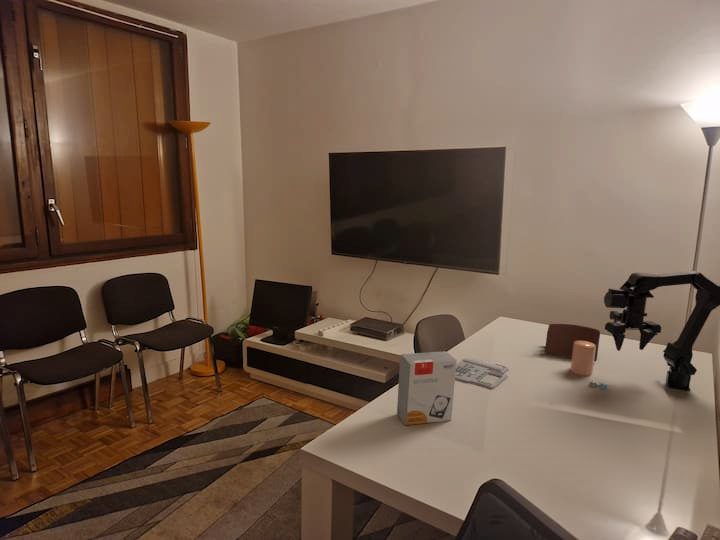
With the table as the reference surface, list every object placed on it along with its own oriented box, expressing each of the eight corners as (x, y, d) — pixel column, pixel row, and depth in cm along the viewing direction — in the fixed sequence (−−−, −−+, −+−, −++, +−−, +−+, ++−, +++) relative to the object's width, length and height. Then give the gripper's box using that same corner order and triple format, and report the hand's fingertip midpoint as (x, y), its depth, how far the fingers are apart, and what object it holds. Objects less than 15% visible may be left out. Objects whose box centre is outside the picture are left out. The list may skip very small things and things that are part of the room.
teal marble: (606, 390, 168) (607, 382, 168) (607, 394, 166) (608, 386, 165) (597, 388, 169) (598, 381, 169) (598, 392, 167) (599, 384, 166)
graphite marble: (596, 388, 169) (597, 381, 169) (597, 392, 167) (598, 384, 166) (587, 387, 171) (588, 379, 170) (588, 390, 168) (589, 382, 167)
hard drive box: (404, 426, 140) (408, 363, 136) (396, 414, 148) (398, 353, 144) (452, 420, 145) (457, 359, 141) (441, 408, 152) (445, 349, 148)
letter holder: (596, 361, 196) (601, 328, 193) (545, 353, 203) (548, 322, 200) (594, 353, 205) (598, 322, 202) (545, 346, 212) (548, 315, 209)
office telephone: (467, 353, 195) (515, 365, 184) (467, 359, 196) (515, 372, 184) (441, 369, 177) (493, 384, 165) (441, 376, 178) (492, 391, 166)
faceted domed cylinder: (594, 375, 181) (598, 344, 179) (587, 380, 176) (591, 349, 174) (574, 369, 186) (578, 339, 184) (567, 374, 181) (571, 343, 179)
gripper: (642, 302, 178) (636, 341, 181) (597, 303, 175) (592, 343, 178) (665, 310, 168) (658, 352, 171) (618, 311, 164) (612, 354, 168)
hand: (629, 350), depth 172 cm, fingers open, 9 cm apart
